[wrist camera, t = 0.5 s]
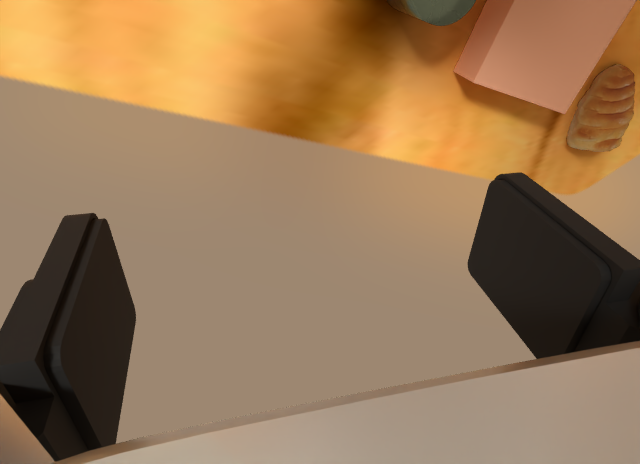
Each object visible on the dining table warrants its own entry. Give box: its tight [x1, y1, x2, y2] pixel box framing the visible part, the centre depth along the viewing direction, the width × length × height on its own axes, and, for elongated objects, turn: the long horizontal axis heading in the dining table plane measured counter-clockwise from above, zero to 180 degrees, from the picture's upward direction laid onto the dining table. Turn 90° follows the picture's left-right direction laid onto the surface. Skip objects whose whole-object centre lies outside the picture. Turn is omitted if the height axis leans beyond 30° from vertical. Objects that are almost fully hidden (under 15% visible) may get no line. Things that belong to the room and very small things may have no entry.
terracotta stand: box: [453, 0, 637, 114], centre depth 41 cm, size 12×12×4 cm
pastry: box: [567, 65, 635, 152], centre depth 49 cm, size 9×7×4 cm
